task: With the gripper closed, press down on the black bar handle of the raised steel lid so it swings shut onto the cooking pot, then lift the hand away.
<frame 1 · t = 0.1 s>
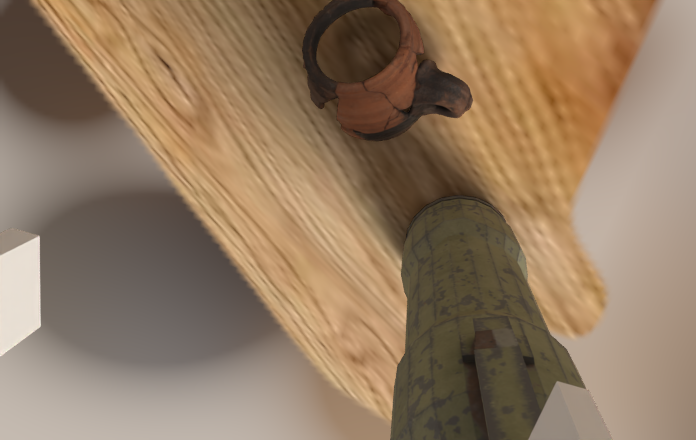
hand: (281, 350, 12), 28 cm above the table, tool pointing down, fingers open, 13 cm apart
pottery mug: (388, 76, 37), on the table
thermos: (457, 244, 40), on the table, touching gripper
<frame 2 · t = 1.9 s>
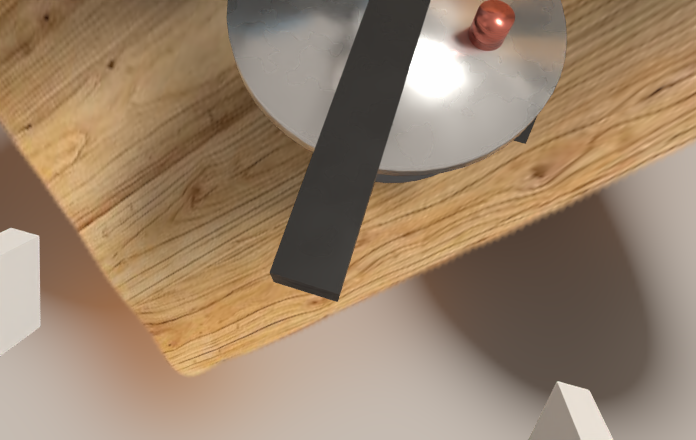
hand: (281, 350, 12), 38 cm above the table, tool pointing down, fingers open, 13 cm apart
lid: (383, 56, 25), point 22 cm above the table, hinge at 40.0°
pot: (398, 57, 46), on the table
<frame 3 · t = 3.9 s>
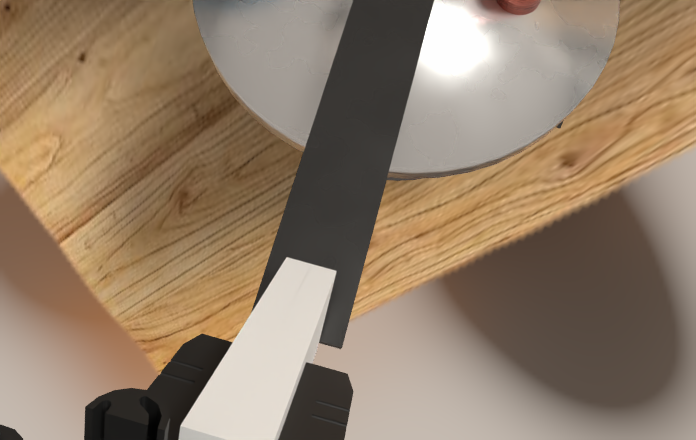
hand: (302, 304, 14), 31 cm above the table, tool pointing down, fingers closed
lid: (389, 27, 20), point 21 cm above the table, hinge at 38.7°, touching gripper
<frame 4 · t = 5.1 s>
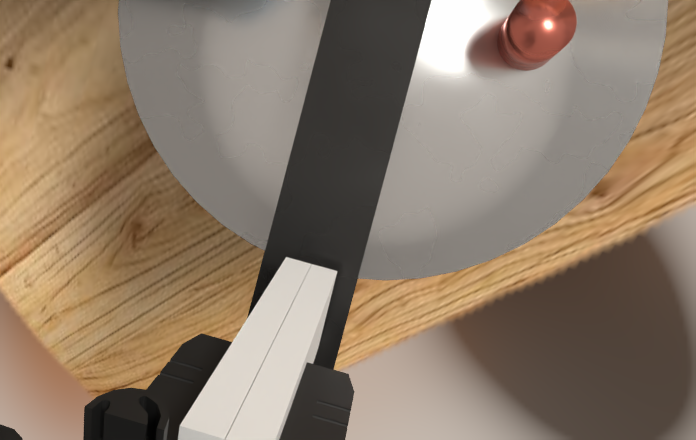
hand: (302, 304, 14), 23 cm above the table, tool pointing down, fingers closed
lid: (358, 102, 16), point 18 cm above the table, hinge at 20.9°, touching gripper
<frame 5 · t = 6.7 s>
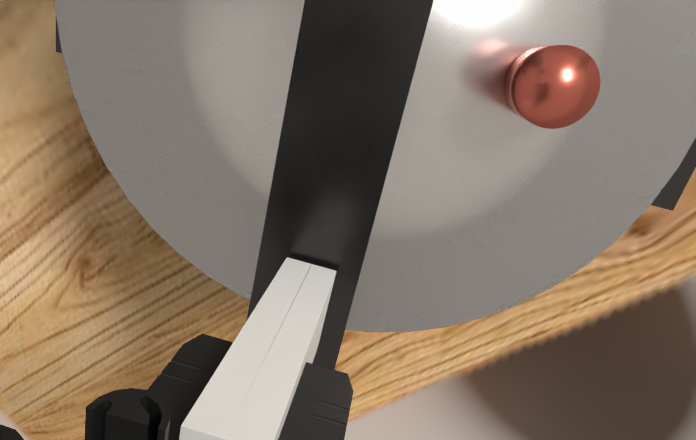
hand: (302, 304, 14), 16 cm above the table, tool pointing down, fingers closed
lid: (338, 161, 14), point 14 cm above the table, hinge at 1.4°, touching gripper
pot: (392, 39, 26), on the table
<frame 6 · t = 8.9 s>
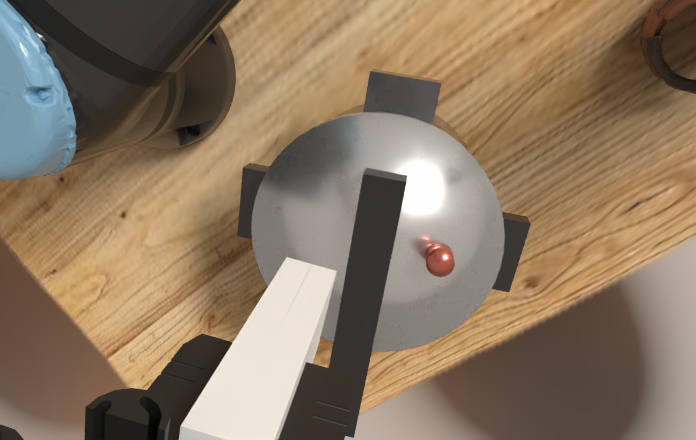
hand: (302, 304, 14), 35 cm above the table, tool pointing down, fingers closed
lid: (364, 285, 37), point 14 cm above the table, hinge at 1.4°
pot: (386, 192, 49), on the table
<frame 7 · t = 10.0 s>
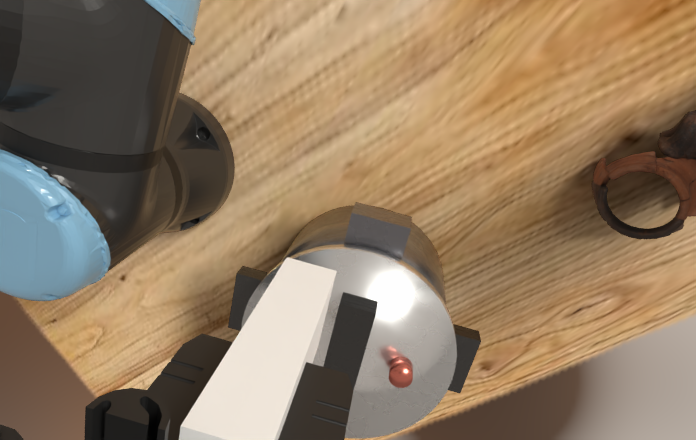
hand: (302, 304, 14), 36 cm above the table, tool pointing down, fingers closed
lid: (336, 385, 43), point 14 cm above the table, hinge at 1.4°
pot: (362, 280, 54), on the table
pottery mug: (646, 166, 46), on the table
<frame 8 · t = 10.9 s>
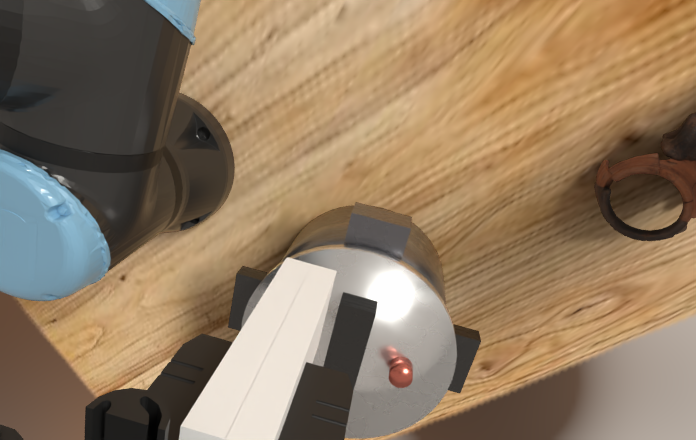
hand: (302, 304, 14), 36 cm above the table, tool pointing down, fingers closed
lid: (336, 385, 43), point 14 cm above the table, hinge at 1.4°
pot: (362, 280, 54), on the table
pottery mug: (649, 167, 46), on the table
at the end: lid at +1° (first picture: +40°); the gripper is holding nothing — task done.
